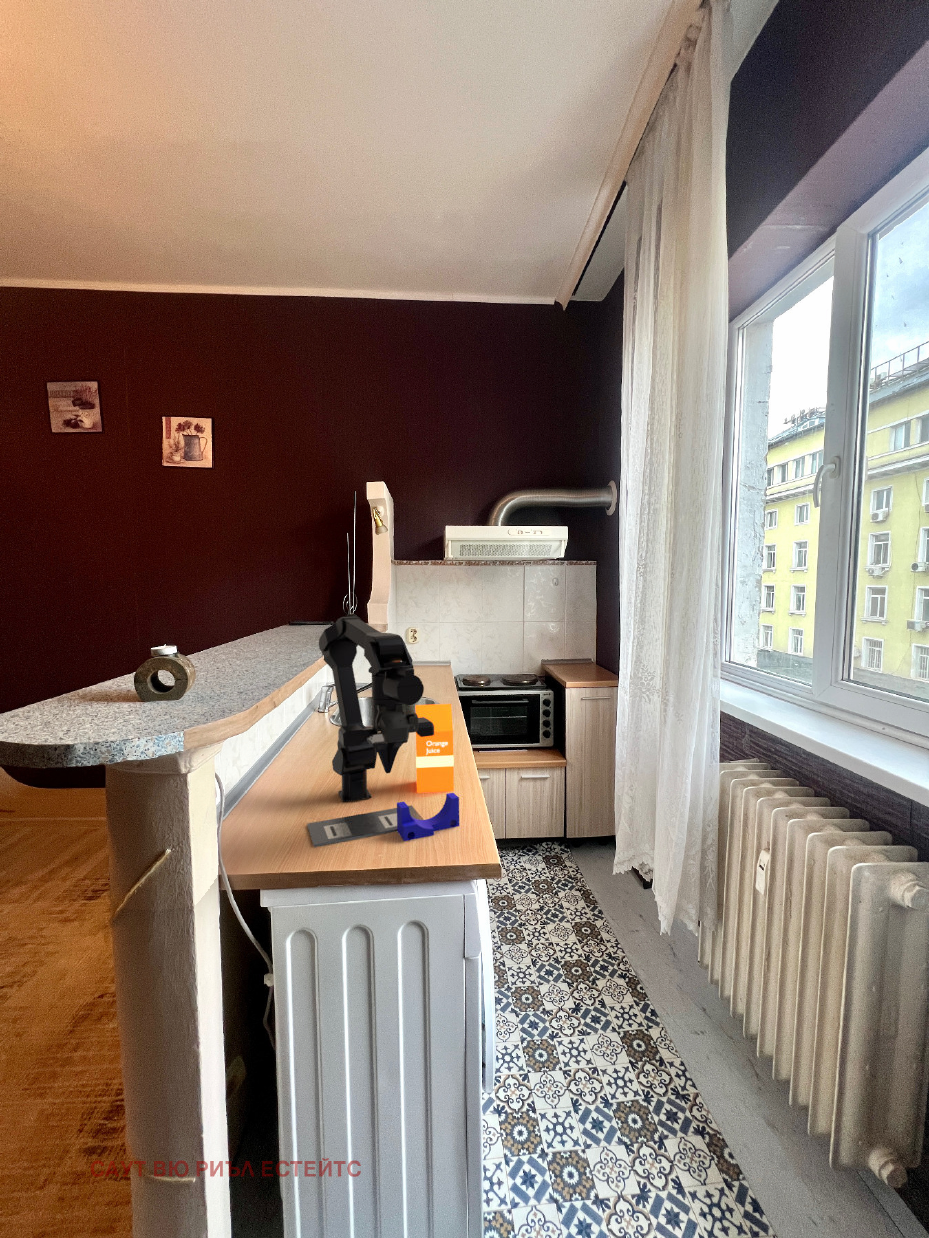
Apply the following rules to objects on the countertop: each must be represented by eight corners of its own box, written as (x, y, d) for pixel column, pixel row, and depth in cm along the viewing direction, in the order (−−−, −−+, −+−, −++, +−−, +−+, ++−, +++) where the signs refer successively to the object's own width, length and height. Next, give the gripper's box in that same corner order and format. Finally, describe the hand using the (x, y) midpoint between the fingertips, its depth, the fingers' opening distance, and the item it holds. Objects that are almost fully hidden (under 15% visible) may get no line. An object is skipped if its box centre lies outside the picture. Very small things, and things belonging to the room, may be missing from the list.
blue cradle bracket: (404, 842, 100) (403, 811, 100) (397, 832, 104) (396, 802, 104) (462, 829, 105) (462, 800, 105) (453, 821, 109) (453, 792, 109)
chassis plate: (307, 825, 107) (307, 822, 107) (411, 807, 116) (411, 804, 116) (313, 847, 98) (313, 843, 98) (426, 825, 107) (426, 822, 107)
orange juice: (416, 781, 132) (415, 701, 131) (451, 779, 133) (450, 700, 132) (416, 793, 124) (415, 708, 123) (454, 791, 125) (453, 707, 124)
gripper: (348, 709, 96) (350, 793, 97) (443, 699, 104) (444, 778, 105) (336, 698, 107) (338, 774, 107) (424, 690, 114) (425, 761, 115)
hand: (387, 772), depth 108 cm, fingers closed
